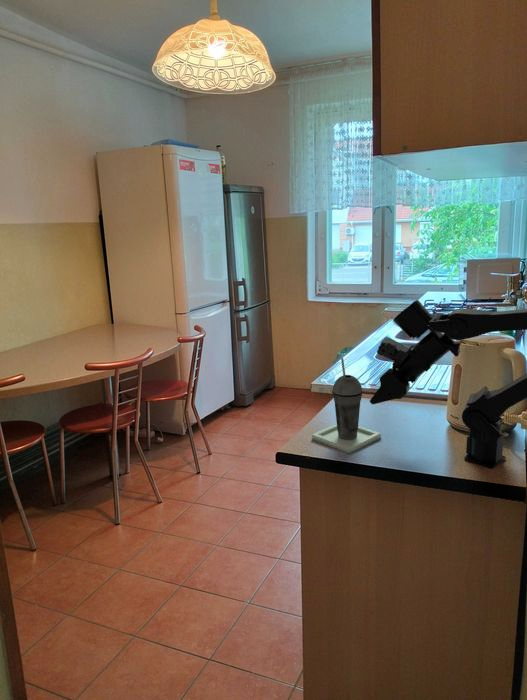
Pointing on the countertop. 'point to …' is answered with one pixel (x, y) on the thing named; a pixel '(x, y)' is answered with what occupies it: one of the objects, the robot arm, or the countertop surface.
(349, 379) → the beverage cup
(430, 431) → the countertop surface
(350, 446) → the tray
